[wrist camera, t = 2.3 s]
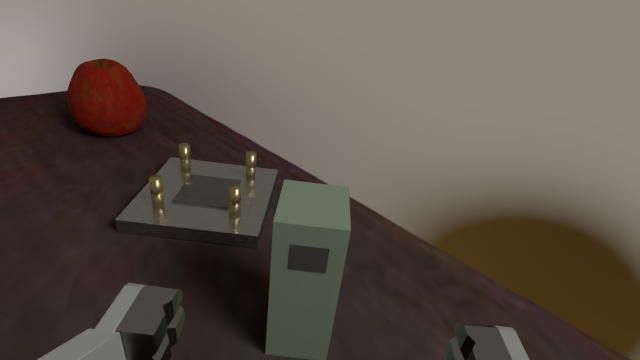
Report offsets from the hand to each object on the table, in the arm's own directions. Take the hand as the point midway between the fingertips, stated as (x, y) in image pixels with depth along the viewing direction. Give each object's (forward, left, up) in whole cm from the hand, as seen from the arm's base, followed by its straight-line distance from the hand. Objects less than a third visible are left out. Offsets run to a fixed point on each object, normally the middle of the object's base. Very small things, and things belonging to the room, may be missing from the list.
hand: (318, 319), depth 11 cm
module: (0, +12, -16) cm, 20 cm away
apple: (-32, +45, -16) cm, 58 cm away
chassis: (-12, +28, -16) cm, 35 cm away
